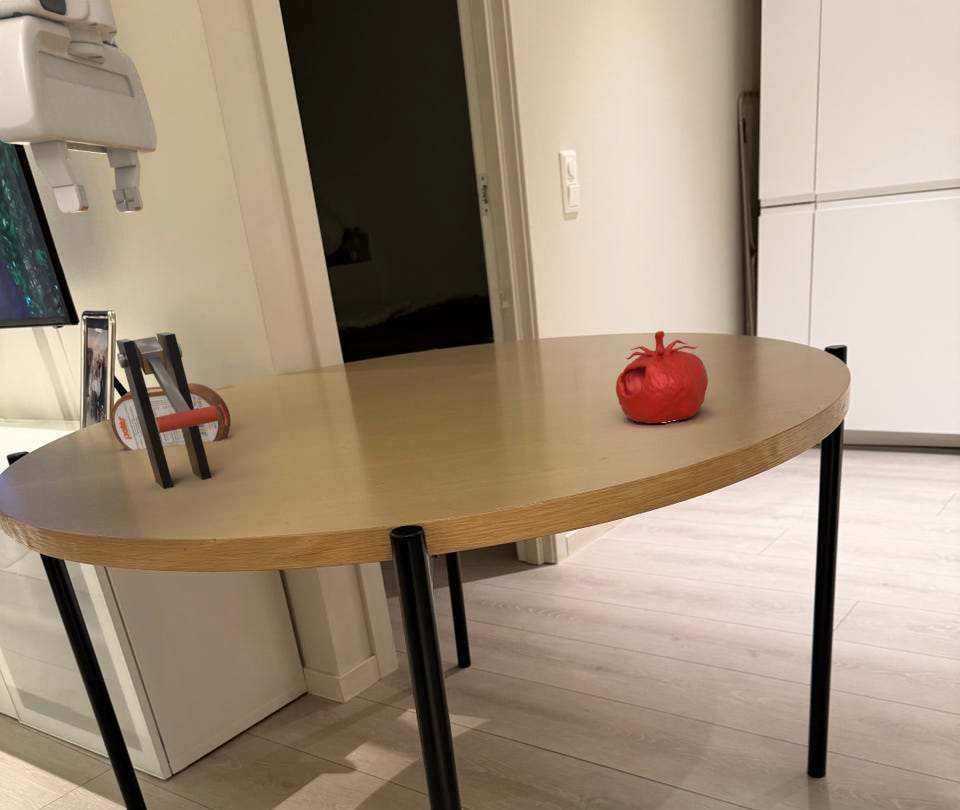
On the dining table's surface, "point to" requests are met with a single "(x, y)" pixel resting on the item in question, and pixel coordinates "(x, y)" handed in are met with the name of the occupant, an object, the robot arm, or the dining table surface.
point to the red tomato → (662, 384)
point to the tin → (201, 395)
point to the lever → (170, 389)
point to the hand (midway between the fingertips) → (104, 211)
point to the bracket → (145, 412)
